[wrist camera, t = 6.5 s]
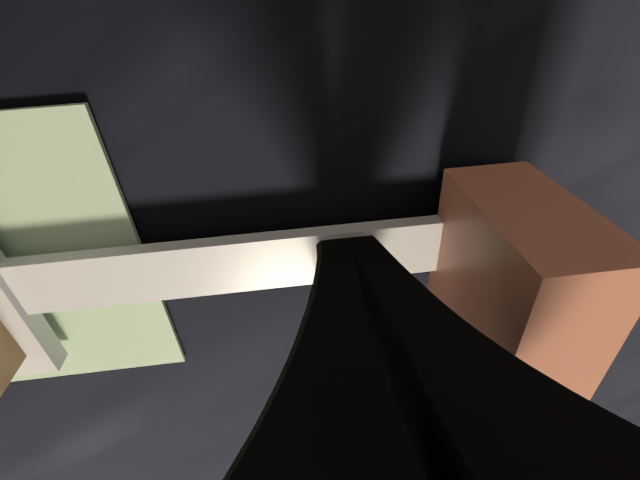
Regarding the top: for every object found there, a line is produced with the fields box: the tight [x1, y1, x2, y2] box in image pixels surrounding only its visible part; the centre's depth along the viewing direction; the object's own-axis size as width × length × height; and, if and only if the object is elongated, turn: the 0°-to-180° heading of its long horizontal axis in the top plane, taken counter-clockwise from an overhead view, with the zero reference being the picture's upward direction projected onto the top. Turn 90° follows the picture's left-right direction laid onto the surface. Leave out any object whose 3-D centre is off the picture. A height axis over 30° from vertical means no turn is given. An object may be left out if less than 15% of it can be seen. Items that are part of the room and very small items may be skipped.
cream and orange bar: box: [0, 161, 640, 401], centre depth 8 cm, size 18×6×4 cm, turn 93°
